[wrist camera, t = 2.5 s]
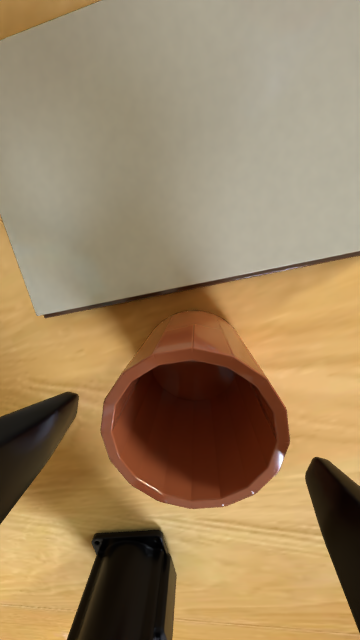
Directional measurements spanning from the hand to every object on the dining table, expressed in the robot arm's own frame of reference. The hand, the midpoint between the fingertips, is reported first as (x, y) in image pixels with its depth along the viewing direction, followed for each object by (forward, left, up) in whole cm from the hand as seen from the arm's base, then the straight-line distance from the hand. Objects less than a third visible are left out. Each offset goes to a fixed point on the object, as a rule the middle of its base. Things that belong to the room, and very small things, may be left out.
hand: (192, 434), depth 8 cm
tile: (+1, +12, -7) cm, 13 cm away
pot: (0, 0, -7) cm, 7 cm away
